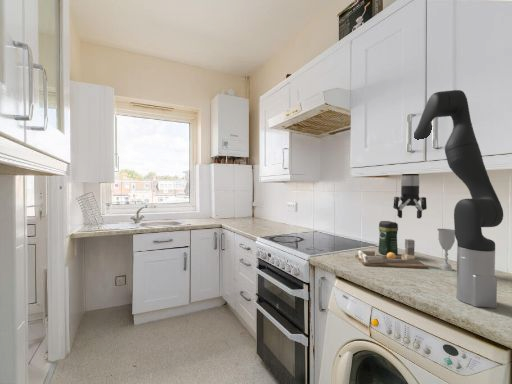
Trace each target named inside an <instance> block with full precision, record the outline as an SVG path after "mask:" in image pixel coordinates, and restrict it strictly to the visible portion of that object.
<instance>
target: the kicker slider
mask: <svg viewBox="0 0 512 384" xmlns="http://www.w3.org/2000/svg"><path fill="white" fill-rule="evenodd" d="M415 244H416V243H415V240H414V239H408V238H406V239H404V252H401V256H402V259H403V260H416V255H415V246H416V245H415Z"/></svg>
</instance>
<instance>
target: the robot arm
mask: <svg viewBox="0 0 512 384" xmlns="http://www.w3.org/2000/svg"><path fill="white" fill-rule="evenodd" d="M468 101H469V100H468V98H467V95H466V93H465V92H464V91H463V90H461V89H455V90H445V91H443V90H442V91H438V92H437V91H435V92H434V93H432V94H431V95H430V97H429V98H428V99H427V102H426V104H425V106H424V109H423V112H422V114H421V117H420V120H419V122H418V125H417V127H416V129H415V130H414V132H413V133H414V138H415V139H417V140H419V139H424V138H427V137H428V136H429V135H430V133H431V130H432V127H433V125H432V121H434V120H435V119H436V118H442V117H443V118H444V117H445V118H446V117H451V119H452V123H453V124H452V125H453V129H452V130H451V133H450V135H449V137H448V139H447V141H446V144H445V146H444V153H445V157H446V158H445V159H446V161H447V164H448V166H449V169H450V170H451V171H452V173H453V174H455V176H456V177H458V179H459V180H460V181H462V183H463V184H464V185H465V186H466V188H467V189H468V192H469V194H470V196H471V198H463V199H459V200H458V202H457V203H456V204H455V206H454V209H453V210H454V211H453V221H454V223H453V224H454V230H455V239H456V240H455V241H456V243H457V245H456V247H457V248H456V250H457V251H456V294H455V295H456V297H455V298H457V300H459V301H460V302H463V303H465V304H468V305H472V306H473V307H474V308H475V307H477V308H478V307H479V308H493V309H497V307H498V305H497V302H498V301H497V300H498V299H497V296H498V295H497V294H498V277H497V276H495V274H496V243H495V241H494V240H492V239H489V238H488V237H485V235H483V231H482V228H495V227H498V226H499V225H500V224H501V223H502V222H503V219H504V210H503V207H502V204H501V201H500V199H499V197H498V195H497V193H496V190H495V189H494V186H493V184H492V182H491V180H490V177H489V174H488V171H487V168H486V166H485V163H484V159H483V156H482V151H481V149H480V146H479V143H478V140H477V138H476V134H475V131H474V127H473V122H472V121H471V114H470V113H471V112H470V108H469V102H468ZM400 180H401V182H400V183H401V184H400V185H401V186H400V188H401V189H400V190H401V191H400V194H401V196H394V197H393V209H395V210H397V217H398V218H399V219H402V218H403V209H404V208H405V207H406V206H407V207H409V206H410V207H414V208H415V209H416V218H417V219H421V218H422V217H423V211H425V210H427V206H428V205H427V198H426V197H425V196H424V197H423V196H421V197H420V173H419V174H402V173H401V179H400ZM400 201H401V202H400ZM419 201H420V203H419ZM399 203H400V204H399Z"/></svg>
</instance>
